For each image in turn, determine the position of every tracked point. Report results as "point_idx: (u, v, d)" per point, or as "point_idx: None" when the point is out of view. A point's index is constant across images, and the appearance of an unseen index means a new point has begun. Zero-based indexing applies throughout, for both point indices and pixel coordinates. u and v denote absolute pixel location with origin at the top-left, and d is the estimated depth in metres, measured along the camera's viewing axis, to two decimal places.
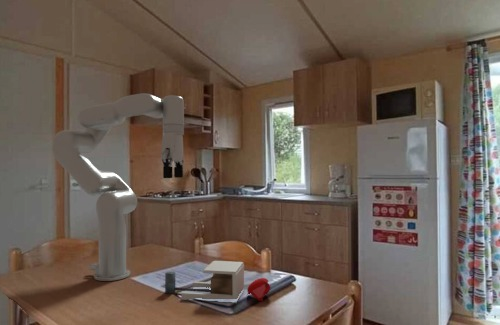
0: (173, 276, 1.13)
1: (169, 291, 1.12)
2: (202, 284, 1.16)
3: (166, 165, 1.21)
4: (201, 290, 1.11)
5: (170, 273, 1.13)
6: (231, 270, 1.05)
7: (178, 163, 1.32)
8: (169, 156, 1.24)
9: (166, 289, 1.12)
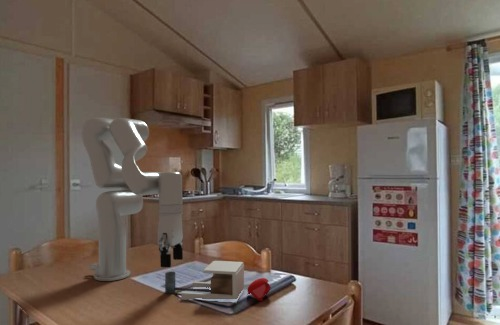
0: (173, 276, 1.13)
1: (169, 291, 1.12)
2: (202, 284, 1.16)
3: (163, 253, 1.07)
4: (201, 290, 1.11)
5: (170, 273, 1.13)
6: (231, 270, 1.05)
7: (177, 243, 1.19)
8: (167, 241, 1.10)
9: (166, 289, 1.12)
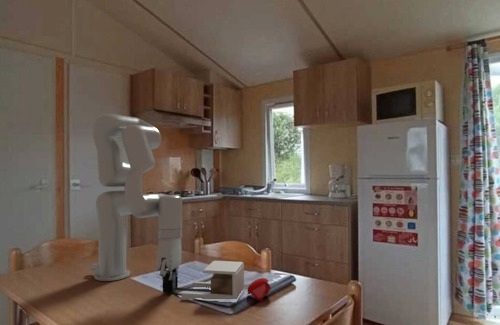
0: (173, 276, 1.13)
1: None
2: (202, 284, 1.16)
3: (166, 280, 1.11)
4: (201, 290, 1.11)
5: None
6: (231, 270, 1.05)
7: (172, 271, 1.16)
8: (167, 266, 1.11)
9: None
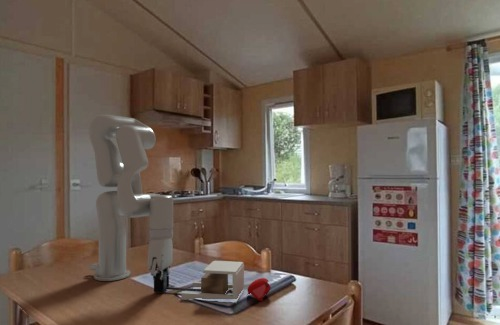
0: (164, 276, 1.13)
1: None
2: None
3: (157, 280, 1.11)
4: (192, 289, 1.12)
5: None
6: (231, 270, 1.05)
7: None
8: (158, 266, 1.12)
9: None
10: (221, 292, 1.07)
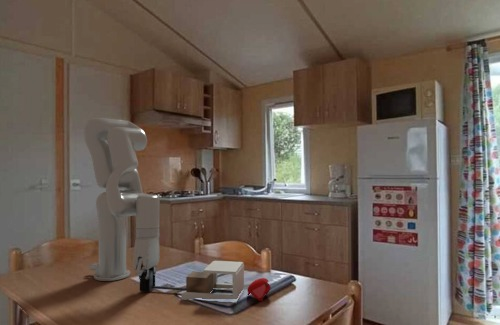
0: (150, 275, 1.14)
1: None
2: None
3: (143, 279, 1.12)
4: (177, 288, 1.13)
5: None
6: (231, 270, 1.05)
7: None
8: None
9: None
10: (206, 291, 1.08)
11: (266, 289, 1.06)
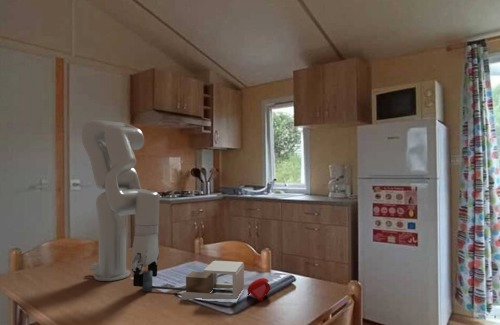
0: (150, 275, 1.14)
1: (146, 289, 1.13)
2: None
3: (136, 273, 1.10)
4: (177, 288, 1.13)
5: (147, 272, 1.15)
6: (231, 270, 1.05)
7: None
8: (141, 260, 1.12)
9: (143, 288, 1.14)
10: (205, 291, 1.08)
11: (266, 289, 1.06)
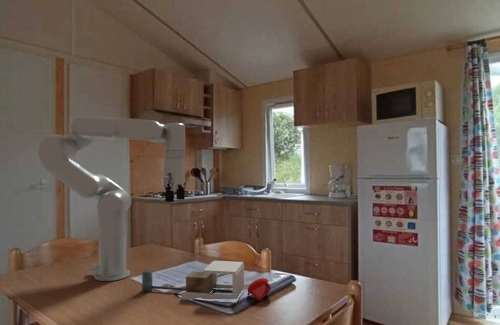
0: (150, 275, 1.14)
1: (146, 289, 1.13)
2: None
3: (168, 190, 1.28)
4: (177, 288, 1.13)
5: (147, 272, 1.15)
6: (231, 270, 1.05)
7: (180, 186, 1.39)
8: (171, 180, 1.30)
9: (143, 288, 1.14)
10: (205, 291, 1.08)
11: (266, 289, 1.06)
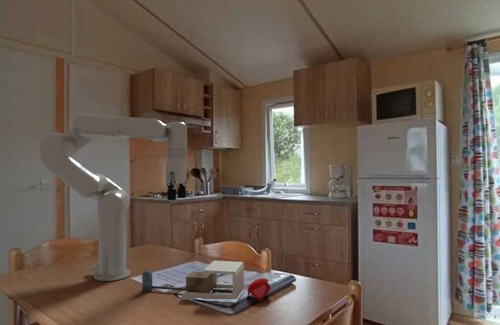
0: (150, 275, 1.14)
1: (146, 289, 1.13)
2: None
3: (170, 188, 1.29)
4: (177, 288, 1.13)
5: (147, 272, 1.15)
6: (231, 270, 1.05)
7: (181, 184, 1.40)
8: (173, 179, 1.32)
9: (143, 288, 1.14)
10: (205, 291, 1.08)
11: (266, 289, 1.06)
